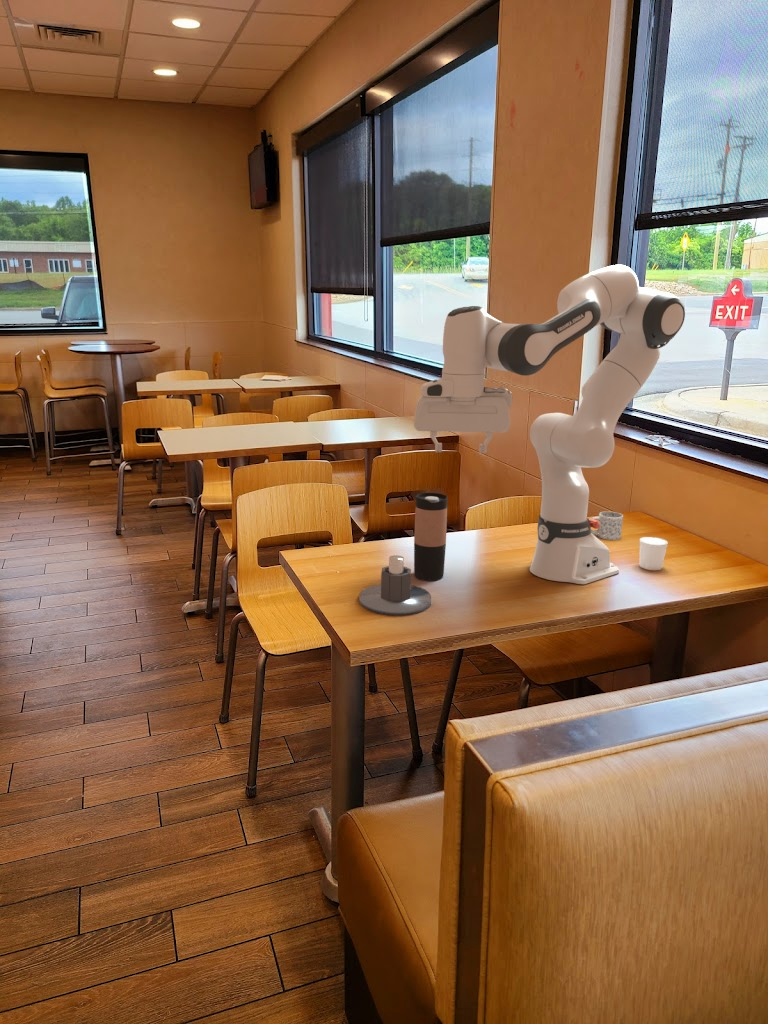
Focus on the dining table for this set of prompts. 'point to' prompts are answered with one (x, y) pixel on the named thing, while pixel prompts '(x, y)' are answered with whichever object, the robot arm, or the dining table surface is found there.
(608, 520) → the mug
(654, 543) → the white short tapered cylinder
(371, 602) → the grey metal round base
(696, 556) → the dining table surface
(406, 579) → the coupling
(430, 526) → the travel mug
